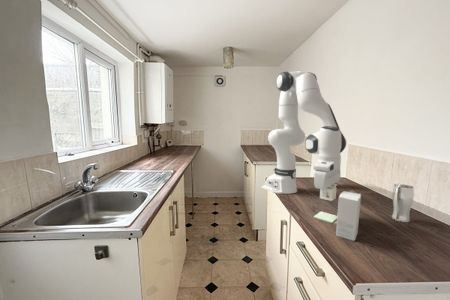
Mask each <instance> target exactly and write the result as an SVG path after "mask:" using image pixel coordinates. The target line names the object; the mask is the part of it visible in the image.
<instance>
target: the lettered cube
mask: <svg viewBox="0 0 450 300" xmlns="http://www.w3.org/2000/svg"><path fill="white" fill-rule="evenodd" d="M327 192H328V196H326V197H324V196H322V190H321V189H319V199H321V200H326V201H330V202H333V201H334V200H336V199H337V187H332V186H329V187H327Z"/></svg>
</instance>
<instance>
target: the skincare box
mask: <svg viewBox="0 0 450 300" xmlns="http://www.w3.org/2000/svg"><path fill="white" fill-rule="evenodd" d="M361 201H362V194H361V193H357V192H355V193H352V192H349V191H346V190H345V191H344V190H343V191H341V193H339V196H338V204H337V215H336V216H337V219H336V221H337V226H336V231H335V236H336V237H338V238H344V239H347V240H349V241H353V242H355V240H356V239H357V236H358V233H359V222H360V221H359V220H360V210H361Z"/></svg>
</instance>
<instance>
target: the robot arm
mask: <svg viewBox="0 0 450 300" xmlns="http://www.w3.org/2000/svg"><path fill="white" fill-rule="evenodd" d="M276 78H277V79H276V88H277V90H278V91H280V95H279V98H278V99H279V100H278V115H277V116H278V119H279V121H281V122H282V124H283V127H284V128H276V129H273V130H271V131H270V132H269V133H268V136H267V141H268V143H269V145H270V146H271V147H272V148H273V149H274V151H275V154H276V167H274V168H273V170H272V171H274V173H273V174H271V175H269V176H268V177H266V180H265V184H263V185H261V189H264V190H266V191H268V192H269V191H270V192H272V193H275V194H279V195H282V194H285V195H286V194H287V195H288V194H295V193H298V189H297V188H298V187H297V184H296V183H297V182H296V177H297V169H296V163H297V162H296V156H295V154H294V153H293V152H292V150H291V147H297V146H299V145H302V144H303V143H304V148H305V151H307V152H308V153H309V154H312V155H313V154H314V155H315V154H316V155H318V158H317V160H316V162H315V163H314V164H313V170H314V174H313V177H314V178H313V180H314V184H313V185H314V187H315V189H319V190H320V189H321V190H322V196H324V197H326V196H328V192H327V187H329V186H332V187H334V186H335V183H336V182H340V180H341V165H342V163H341V161H342V156H341V153H343V151H344V150H345V148H346V147H347V139H346V137H345V136H344V134H343V132H342V131H341V128H340V126H339V123H338V121H337V119H336V116H335V114H334V112H333V109H332V107H331V105H330V104H329V103H328V102H327V101H326V100H325V99H324V97H323V96H322V94H321V89H320V85H319V82H318V79H317V76H316V74H315V73H313V72H310V71H309V72H308V71H302V70H301V71H299V70H298V71H282V72H280V73H278V76H277V77H276ZM299 108H300V109H301V110H302V111H304V112H305V113H308V114H311V115H314V116H316V117H318V118H319V119H321V121H322V122H323V125H324V126H322V127H320V129H319V130H318V131H316V132H314V133H311V134H309V135H307V136H306V133H305V132H304V130H303V129H302V128H301V126H300V123H299V117H298V114H299V113H298V111H299V110H298V109H299Z"/></svg>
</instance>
